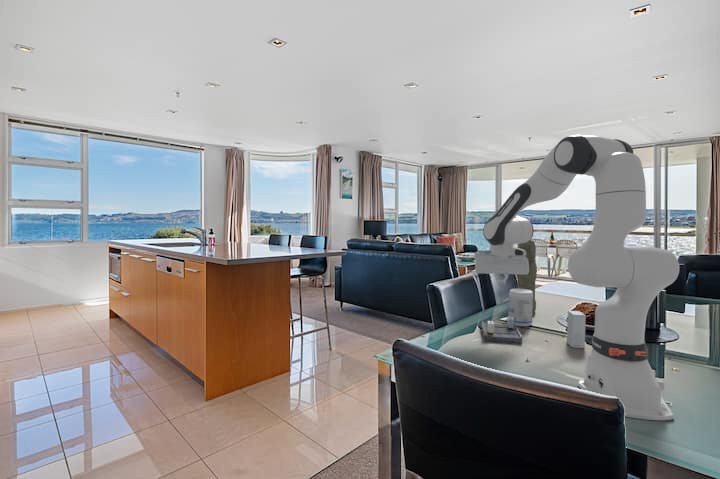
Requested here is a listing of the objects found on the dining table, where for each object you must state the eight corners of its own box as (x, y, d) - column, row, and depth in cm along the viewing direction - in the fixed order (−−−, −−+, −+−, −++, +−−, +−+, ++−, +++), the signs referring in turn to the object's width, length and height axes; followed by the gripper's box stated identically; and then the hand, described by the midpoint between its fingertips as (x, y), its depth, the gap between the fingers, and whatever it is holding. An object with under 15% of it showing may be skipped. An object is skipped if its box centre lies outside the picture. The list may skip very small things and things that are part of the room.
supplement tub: (504, 321, 168) (504, 288, 167) (523, 320, 169) (524, 287, 168) (516, 327, 158) (517, 293, 157) (537, 326, 160) (537, 292, 159)
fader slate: (513, 328, 150) (513, 318, 149) (508, 328, 150) (508, 318, 150) (512, 325, 153) (512, 316, 153) (507, 325, 154) (507, 316, 153)
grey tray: (522, 343, 139) (522, 337, 138) (484, 341, 142) (485, 334, 142) (514, 329, 156) (514, 323, 156) (481, 327, 159) (481, 321, 159)
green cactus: (517, 316, 176) (519, 241, 174) (513, 309, 188) (515, 239, 185) (538, 317, 174) (540, 241, 172) (532, 310, 186) (534, 239, 183)
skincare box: (585, 348, 134) (586, 315, 133) (571, 347, 134) (573, 314, 134) (578, 342, 139) (579, 310, 139) (566, 342, 140) (567, 310, 140)
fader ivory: (493, 333, 144) (493, 323, 144) (488, 332, 144) (488, 322, 144) (492, 330, 147) (493, 320, 147) (487, 329, 148) (487, 320, 148)
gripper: (474, 250, 150) (474, 285, 150) (530, 251, 145) (529, 287, 145) (474, 249, 156) (473, 282, 156) (527, 250, 151) (526, 284, 152)
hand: (501, 285), depth 151 cm, fingers closed
